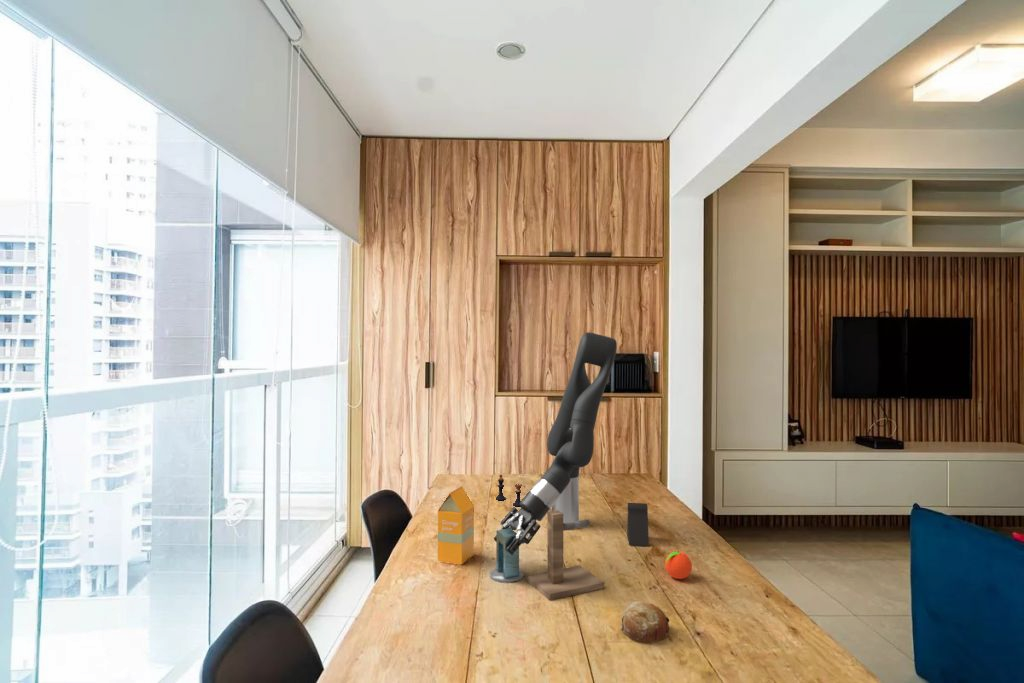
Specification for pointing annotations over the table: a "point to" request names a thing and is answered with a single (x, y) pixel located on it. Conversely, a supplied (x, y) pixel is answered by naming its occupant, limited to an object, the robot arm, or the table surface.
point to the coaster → (500, 576)
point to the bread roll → (644, 622)
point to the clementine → (678, 565)
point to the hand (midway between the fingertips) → (502, 547)
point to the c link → (506, 554)
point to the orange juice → (456, 528)
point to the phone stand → (637, 524)
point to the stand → (557, 578)
